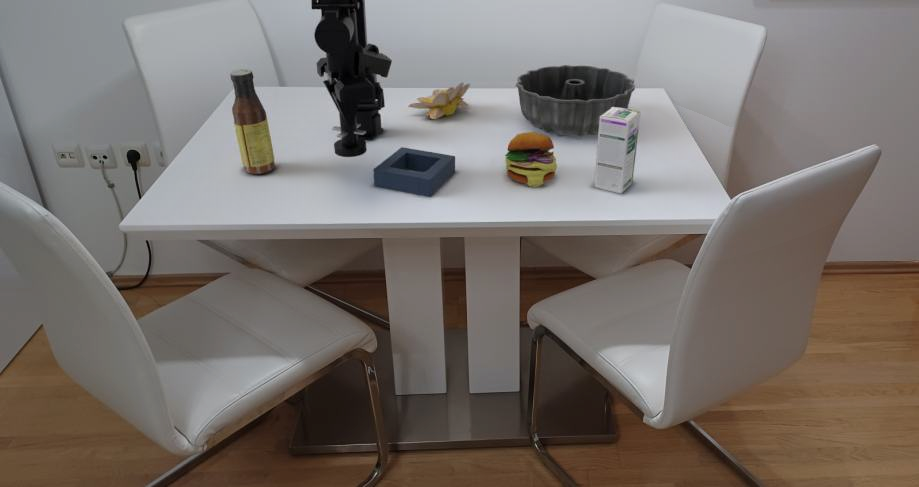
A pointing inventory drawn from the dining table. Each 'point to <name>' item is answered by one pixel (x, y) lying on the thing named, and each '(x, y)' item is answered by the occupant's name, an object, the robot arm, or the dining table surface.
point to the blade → (349, 139)
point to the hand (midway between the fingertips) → (348, 123)
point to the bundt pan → (571, 97)
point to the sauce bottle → (251, 125)
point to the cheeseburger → (531, 159)
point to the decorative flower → (443, 101)
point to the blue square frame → (404, 180)
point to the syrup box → (616, 149)
